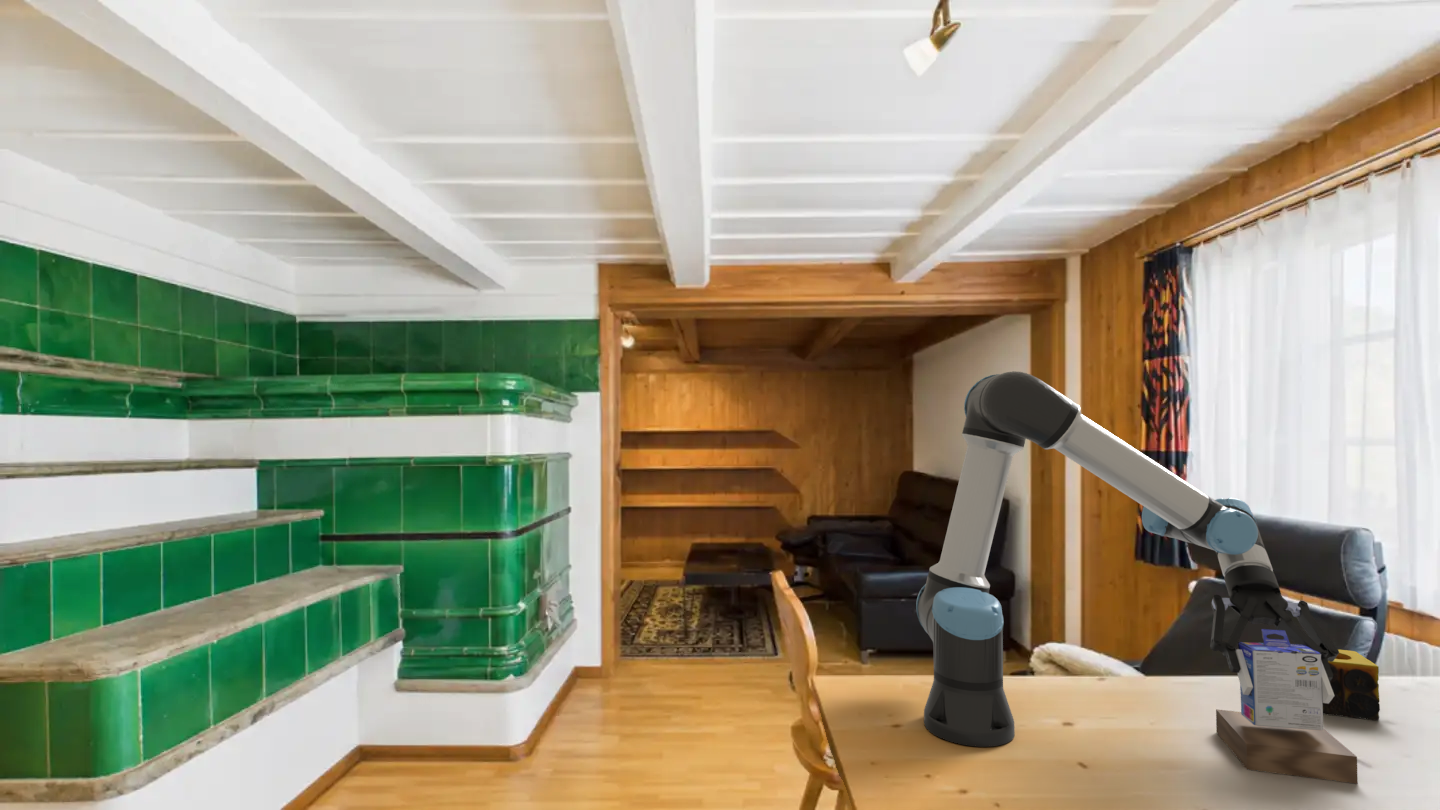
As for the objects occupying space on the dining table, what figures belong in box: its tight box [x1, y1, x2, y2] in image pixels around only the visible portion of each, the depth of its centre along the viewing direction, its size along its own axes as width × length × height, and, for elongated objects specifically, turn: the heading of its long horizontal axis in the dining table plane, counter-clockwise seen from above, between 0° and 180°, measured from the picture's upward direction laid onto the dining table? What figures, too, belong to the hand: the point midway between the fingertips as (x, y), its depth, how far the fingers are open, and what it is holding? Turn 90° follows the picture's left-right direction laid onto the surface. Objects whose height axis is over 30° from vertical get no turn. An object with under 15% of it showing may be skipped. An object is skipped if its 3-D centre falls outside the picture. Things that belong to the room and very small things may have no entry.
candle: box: [1322, 649, 1381, 721], centre depth 136 cm, size 10×10×10 cm
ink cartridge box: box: [1237, 628, 1324, 730], centre depth 116 cm, size 10×6×14 cm, turn 78°
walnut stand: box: [1215, 708, 1359, 785], centre depth 116 cm, size 14×14×4 cm
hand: (1287, 695), depth 113 cm, fingers closed on ink cartridge box, 10 cm apart
